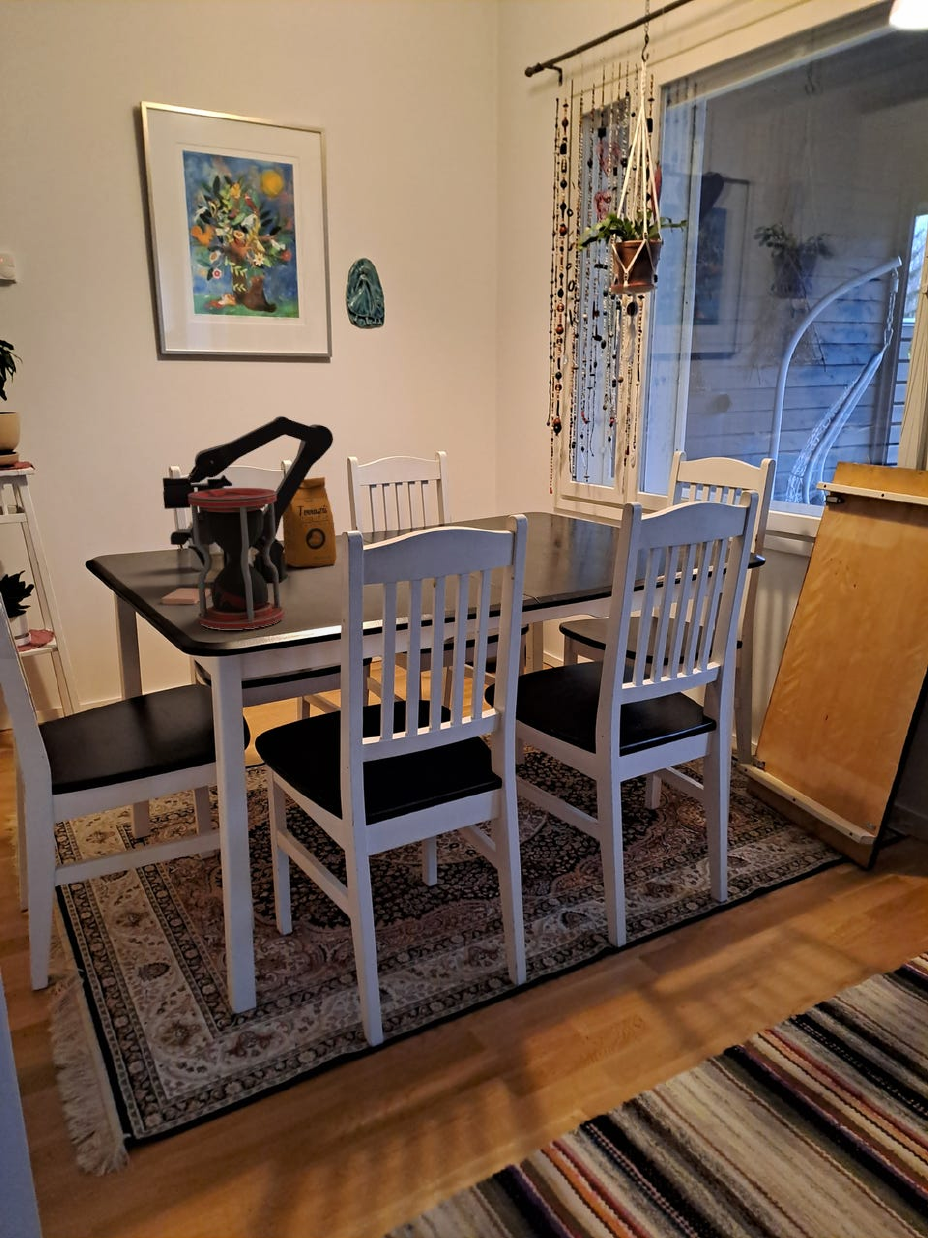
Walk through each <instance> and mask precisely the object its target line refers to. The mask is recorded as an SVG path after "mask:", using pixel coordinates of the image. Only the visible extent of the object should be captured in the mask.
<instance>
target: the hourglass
mask: <svg viewBox="0 0 928 1238" xmlns="http://www.w3.org/2000/svg"><path fill="white" fill-rule="evenodd" d="M188 500H189V504H190V505H191V509H190V510H191V519H192V520H191V521H193V532H194V542H195V544H196V547H197V548H198V549H199V550H200V551H201V552H202V553H203V557H204V560H205V563H204V569H203V571H200V573H199V576H198V578H197V586H198V588H197V589H199V599H200V602H199V607H200V612H199V614H198V621H200V622H199V624H200V623H201V624H203V625H205V626H208V627H213V628H220V629H245V628H254V627H261V626H265V625H269V624H273V623H275V622H277V621H279V620H281V619H282V620H283V619H284V617H285V615H284V614H285V612H284V609H283V607H282V606H281V602H280V601H281V600H280V584H279V583H280V582H279V581H278V571H277V569H276V567H275V566H274V565H273V564H272V563H271V561H270V557H269V550H270V546H271V545H272V543H273V542H274V539H275V538H276V537H277V534H276V533H275V517H274V502H275V501H276V500H277V496H276V490H273V489H269V488H257V487H254V488H253V487H232V488H231V487H229V488H228V487H227V488H226V487H224V488H221V489H211V490H203V491H195V492H192V493H190V494H188ZM266 505H268V515H269V531H270V535H269V538H268V541H267V543H266V544H265V545H264V547H263V551H262V557H263V560H264V563H265V564H266V565H267V566H268V567H269V568H270V570H271V572H272V578H273V582H272V589H273V603H271V602H269V599H270V598H269V597H270V596H269V589H268V585H267V584H268V583H267V582H265V580H264V578H263V577H262V575H261V574H260V573H259V572H258V571H257V570H256V569H255V568H254V567H253V565H252V564H251V563H250V562H249V551H250V549H251V548H252V546H253V545H254V544H255V542H256V541H257V539H258V538H259V537H260V535H261V532H262V530H263V513H262V511H263V508H264V507H266ZM199 507H202V509H203V510H205V511H206V513H205V523H206V527H207V531H208V533H209V535H210V537H211V538H212V540H213V541H214V542H215V543H216V544H217V545H218V546H219V547H220V549H221V550H222V551H223V550H224V551H225V552H226V553H227V565H226V566H225V567H224V568H223V569H222V570H221V571H220V573H219V574H218V575H217V577H216V578H215V580H214V581H212V582H213V583H212V585H211V602H212V606H209V607H208V608H207V597H205V589H206V588H205V580H206V574H207V573H208V572H209V570H210V569H211V564H212V558H211V555H210V552H209V551H208V550H207V549H206V548H204V546H203V544H202V542H201V539H200V527H199V516H198V512H199ZM275 536H276V537H275ZM224 551H223V552H224Z"/></svg>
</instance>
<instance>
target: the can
mask: <svg viewBox="0 0 928 1238" xmlns="http://www.w3.org/2000/svg"><path fill="white" fill-rule="evenodd" d="M192 527H193V520H191V521H189V525H188V527H187V528H186V529H191V528H192ZM209 550H210V552H222V551H221V550H222V548H220V547H219V546H218V545H217V544H216V543H215V542H214V543H213V544H211V545H209ZM188 551H189V560H190V561H189V563H190V568H193V570H195V571H199V572H202V571H203V569H204V566H203V564H202V562H201V560H200V558H199V556H198V555H197V553H196V552H195V551H194V550H193V549H189V548H188Z"/></svg>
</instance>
